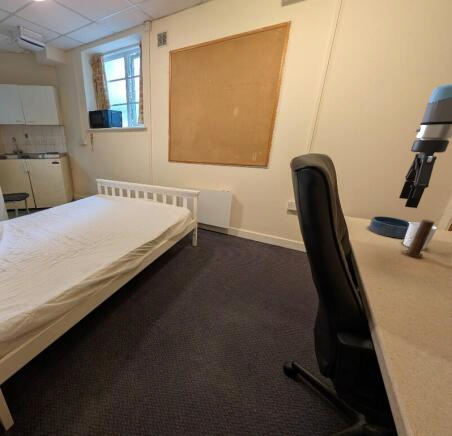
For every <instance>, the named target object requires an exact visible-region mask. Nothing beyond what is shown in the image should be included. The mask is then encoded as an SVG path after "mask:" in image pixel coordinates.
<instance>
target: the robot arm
mask: <svg viewBox="0 0 452 436" xmlns="http://www.w3.org/2000/svg"><path fill="white" fill-rule="evenodd" d="M415 133H416V135H415V140H414V141H413V143H412V146H411V148H410V151H411V152H412V153H416V154H415V155H414V158H413V161H412V163H411V165H410V167H409V169H408V170H407V173H406V175H405V176H404V178H405V181H404V184H403V185H402V189H401V191H400V194H399V197H398V199H400V200H401V199H402V200H406V201H405V204H404V207H405V208H411V209H418V207H419V205H420V202H421V200H422V196H423V194H424V192H425V189H427V188H428V187H429V185H430V181H431V176H432V174H433V170H434V166H435V163H436V160H437V159H438V156H435V153H436V154H440V153H445V152H446V151H447V149H448V146H449V144H450V141H449V140H448V139H451V138H452V83H448V84H444V85H439V86H437V87H435V88H434V89H433V90H432V93H431V94H430V97H429V99H428V101H427V102H426V107H425V110H424V113H423V116H422V118H421V121H420V125H419V128H416V129H415Z"/></svg>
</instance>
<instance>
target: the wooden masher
mask: <svg viewBox="0 0 452 436" xmlns="http://www.w3.org/2000/svg"><path fill="white" fill-rule="evenodd" d="M435 222H436V221H433V220H430V219H421V221H420V223H421V224H420V226H419V228H418V230H417V233H416V235H415V237H414V239H413V242H412V244H411V246H410V247H408V248H409V249H405V250H404V252H403V253H404V255H405V256H407V257H410V258H413V259H422V258H423V256H424V254H423V253H421V252H422V251H423V250H422V248H423V246H424V244H425V242H426V240H427V238H428V235H429V233H430V231H431V229H432V227H433V226H435Z"/></svg>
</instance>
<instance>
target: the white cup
mask: <svg viewBox="0 0 452 436" xmlns="http://www.w3.org/2000/svg"><path fill="white" fill-rule="evenodd" d="M410 222H411V223H410V224H409V227H408V230H407V232H406V236H405V238H404V240H403V245H404V246H405V247H407V248H410V246H411V244H412V242H413V239H414V237H415V235H416V233H417V230H418V228H419V226H420V224H421V222H417V221H410ZM437 230H438V227H436V226H435V225H433V227H432V229H431V231H430V233H429V235H428V238H427V240H426V242H425V244H424V246H423V248H422V250H421V251H423V250H426V249H427V247H428V245H429V244H430V243H431V240H432V239H433V237H434V235H435V233H436V232H437Z"/></svg>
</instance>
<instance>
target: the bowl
mask: <svg viewBox="0 0 452 436" xmlns="http://www.w3.org/2000/svg"><path fill="white" fill-rule="evenodd" d="M411 222H412V221H408V220H406V219H401V218H397V217H391V216H385V215H384V216H383V215H376V216H372V218H371V220H370V223H369V225H368V229H369V230H371V231H372V232H374V233H376V234H377V235H382V236H385V237H390V238H395V239H405V236H406V232H407V230H408V227H409V224H410V223H411Z"/></svg>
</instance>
